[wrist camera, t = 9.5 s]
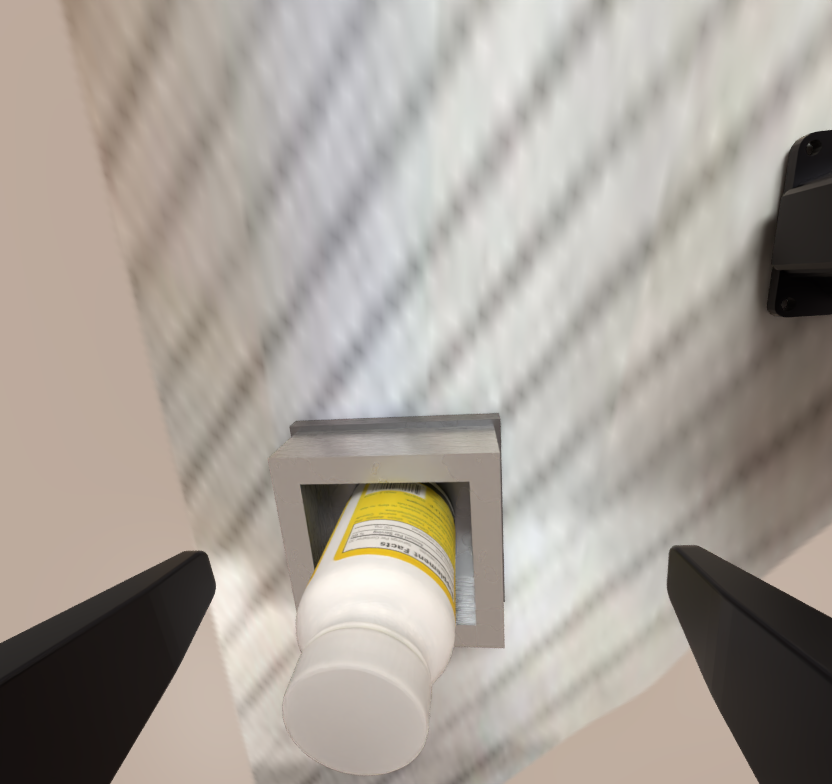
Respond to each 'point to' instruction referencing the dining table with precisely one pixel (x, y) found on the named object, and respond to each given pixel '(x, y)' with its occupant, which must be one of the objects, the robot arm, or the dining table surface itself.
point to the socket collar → (401, 463)
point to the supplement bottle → (375, 630)
